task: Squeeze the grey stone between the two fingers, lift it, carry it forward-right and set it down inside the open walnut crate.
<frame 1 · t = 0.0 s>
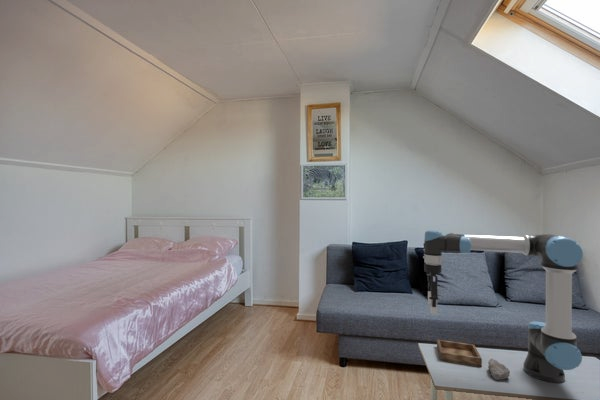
hand: (432, 309, 148), 28 cm above the table, fingers open, 13 cm apart
crate: (457, 356, 161), on the table
stone: (497, 376, 143), on the table
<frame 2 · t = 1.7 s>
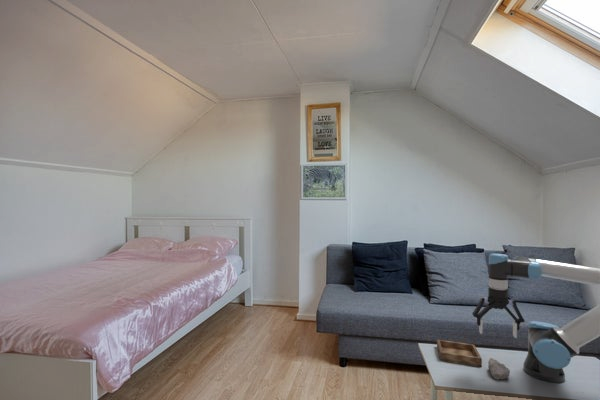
hand: (497, 334, 143), 18 cm above the table, fingers open, 13 cm apart
nothing on the table moved.
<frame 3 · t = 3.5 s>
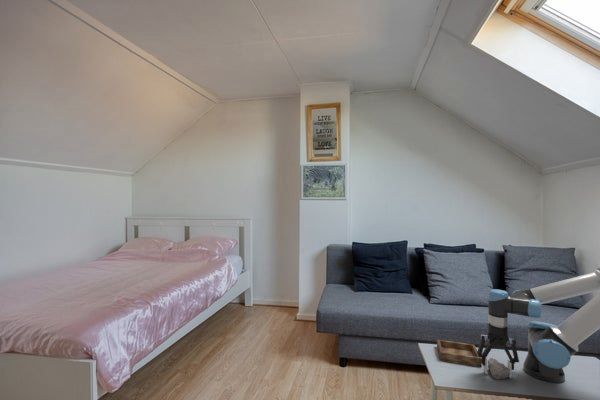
hand: (497, 374, 143), 0 cm above the table, fingers open, 9 cm apart
stone: (496, 375, 144), on the table, touching gripper
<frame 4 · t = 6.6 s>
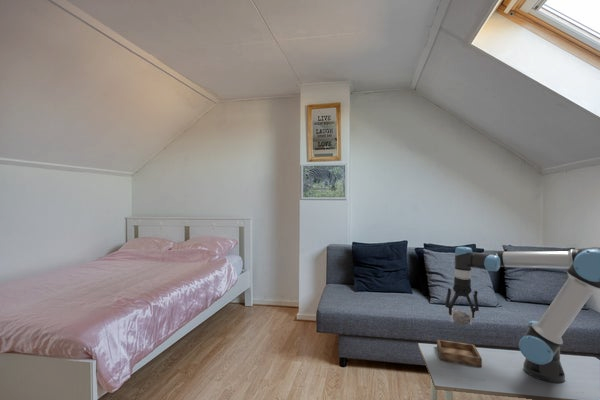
hand: (461, 322, 159), 18 cm above the table, fingers closed on stone, 8 cm apart
stone: (459, 322, 160), point 17 cm above the table, touching gripper
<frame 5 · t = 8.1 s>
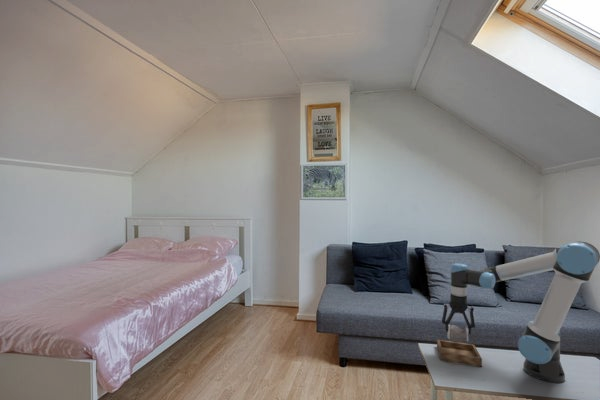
hand: (457, 338, 161), 9 cm above the table, fingers closed on stone, 8 cm apart
stone: (456, 339, 162), point 8 cm above the table, touching gripper
when the fingers open (4 cm above the table, at t = 9.2 s): stone drops 3 cm, resting on crate.
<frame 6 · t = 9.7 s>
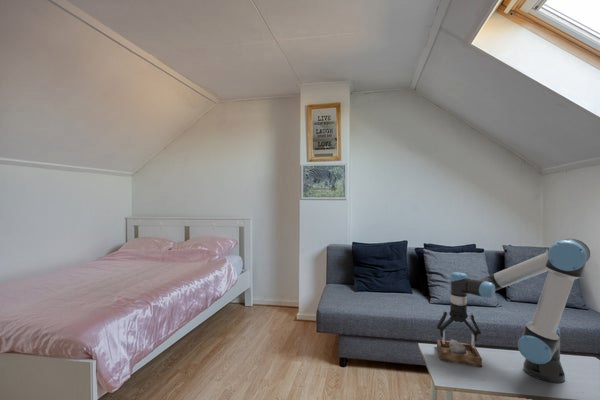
hand: (458, 345, 161), 6 cm above the table, fingers open, 13 cm apart
stone: (456, 354, 161), point 1 cm above the table, touching crate
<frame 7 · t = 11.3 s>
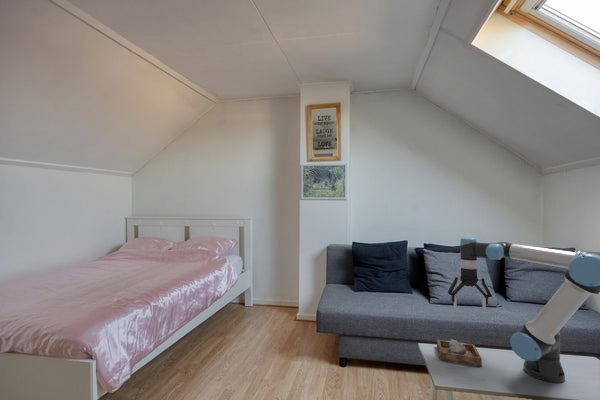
hand: (469, 309, 162), 24 cm above the table, fingers open, 13 cm apart
nothing on the table moved.
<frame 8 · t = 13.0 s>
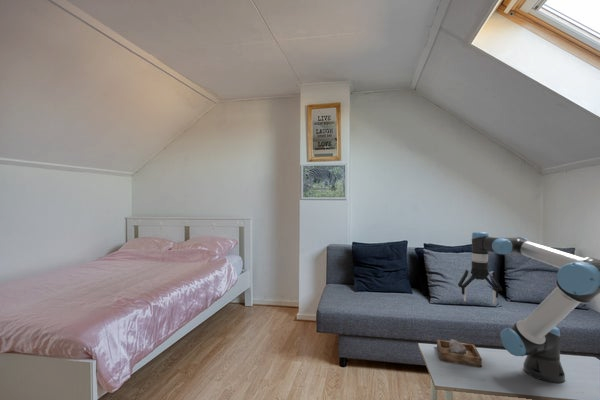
hand: (479, 302, 164), 27 cm above the table, fingers open, 13 cm apart
nothing on the table moved.
at the end: stone inside the target area on the crate (1.1 cm from its centre), point 0.8 cm above the crate's base; stone touching crate; the gripper is holding nothing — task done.
